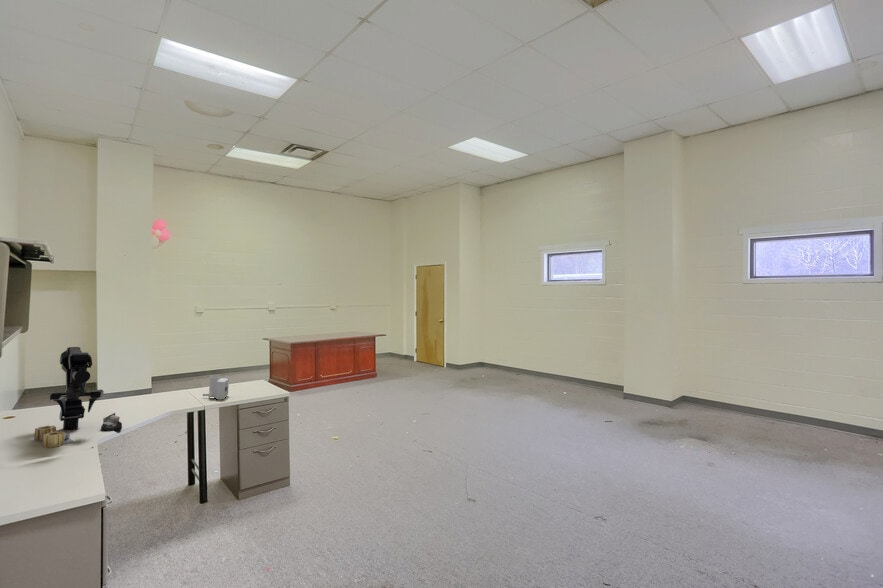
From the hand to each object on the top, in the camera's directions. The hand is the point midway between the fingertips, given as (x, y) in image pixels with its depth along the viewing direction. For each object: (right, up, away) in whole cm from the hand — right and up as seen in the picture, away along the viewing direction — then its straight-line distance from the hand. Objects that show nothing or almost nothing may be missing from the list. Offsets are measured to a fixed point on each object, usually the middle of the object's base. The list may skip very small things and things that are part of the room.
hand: (76, 412), depth 205 cm
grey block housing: (+18, -15, +89) cm, 92 cm away
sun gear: (-2, -10, -7) cm, 13 cm away
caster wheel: (+7, -13, +13) cm, 20 cm away
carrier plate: (-3, -12, -8) cm, 15 cm away
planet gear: (+1, -10, -14) cm, 17 cm away
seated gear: (-9, -10, -6) cm, 15 cm away
